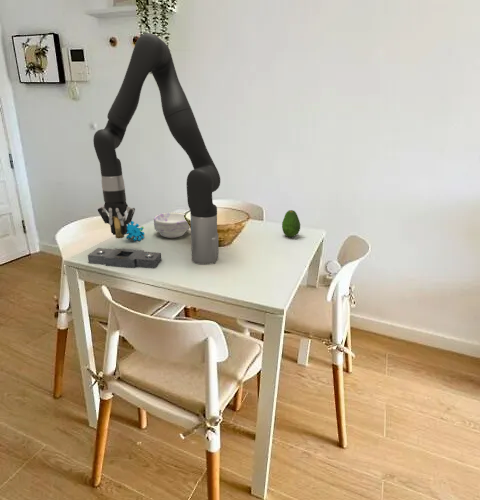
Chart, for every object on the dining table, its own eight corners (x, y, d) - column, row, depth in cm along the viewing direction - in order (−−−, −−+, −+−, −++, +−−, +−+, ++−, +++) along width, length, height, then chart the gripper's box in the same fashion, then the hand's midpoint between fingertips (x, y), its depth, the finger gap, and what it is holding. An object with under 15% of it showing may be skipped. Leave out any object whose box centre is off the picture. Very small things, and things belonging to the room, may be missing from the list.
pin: (125, 236, 134) (122, 215, 132) (122, 238, 132) (119, 217, 129) (117, 235, 135) (115, 215, 132) (114, 238, 132) (111, 217, 129)
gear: (132, 241, 142) (119, 221, 143) (124, 249, 144) (111, 229, 146) (151, 237, 151) (138, 218, 153) (143, 244, 154) (131, 226, 155)
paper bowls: (187, 240, 148) (186, 222, 146) (150, 239, 149) (149, 221, 146) (192, 229, 163) (192, 212, 160) (159, 228, 163) (158, 211, 160)
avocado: (277, 235, 158) (279, 209, 153) (292, 233, 161) (294, 207, 157) (288, 241, 151) (290, 213, 147) (303, 238, 155) (305, 211, 150)
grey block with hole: (162, 259, 130) (161, 250, 128) (153, 269, 121) (152, 260, 120) (100, 254, 132) (98, 245, 131) (87, 264, 124) (85, 254, 123)
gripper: (136, 186, 129) (141, 232, 135) (100, 185, 131) (106, 230, 137) (128, 190, 122) (133, 238, 129) (89, 189, 124) (96, 236, 130)
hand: (119, 234), depth 133 cm, fingers closed on pin, 3 cm apart
